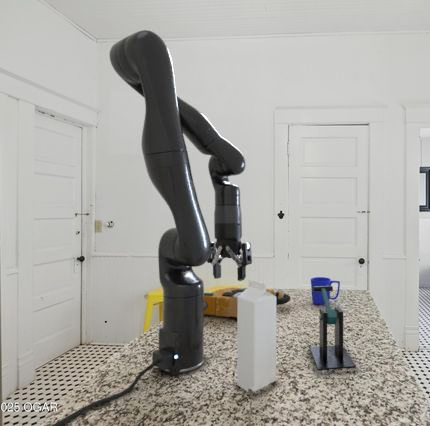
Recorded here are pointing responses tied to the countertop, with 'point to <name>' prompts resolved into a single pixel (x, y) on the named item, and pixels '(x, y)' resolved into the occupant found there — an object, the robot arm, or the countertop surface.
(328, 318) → the lever
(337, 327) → the bracket
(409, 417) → the countertop surface
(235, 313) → the device
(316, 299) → the mug
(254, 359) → the milk
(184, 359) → the robot arm
